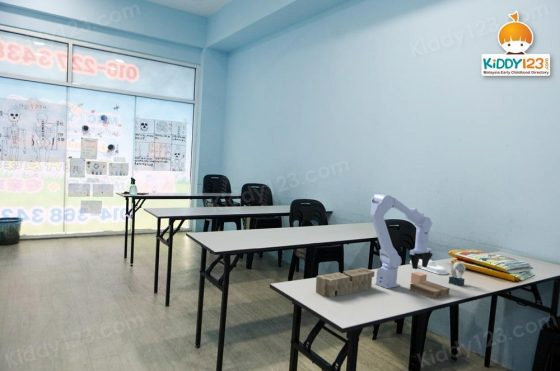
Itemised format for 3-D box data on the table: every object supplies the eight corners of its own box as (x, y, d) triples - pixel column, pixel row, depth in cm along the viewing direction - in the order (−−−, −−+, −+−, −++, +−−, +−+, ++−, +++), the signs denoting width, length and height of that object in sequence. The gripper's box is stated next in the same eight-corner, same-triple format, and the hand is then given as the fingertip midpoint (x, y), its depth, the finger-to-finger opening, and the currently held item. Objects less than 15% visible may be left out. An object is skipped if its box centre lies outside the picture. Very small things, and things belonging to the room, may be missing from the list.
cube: (419, 285, 185) (420, 275, 185) (410, 282, 189) (411, 272, 189) (425, 284, 188) (426, 274, 188) (417, 281, 192) (417, 271, 192)
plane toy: (440, 276, 204) (441, 265, 204) (409, 266, 220) (409, 256, 220) (451, 274, 210) (452, 263, 209) (420, 264, 226) (421, 255, 226)
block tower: (327, 300, 161) (374, 288, 178) (328, 281, 161) (375, 270, 177) (315, 294, 168) (361, 283, 184) (315, 275, 167) (362, 266, 184)
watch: (466, 284, 191) (468, 262, 191) (457, 286, 187) (459, 264, 186) (455, 281, 196) (457, 260, 195) (446, 283, 191) (448, 261, 191)
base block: (432, 298, 167) (433, 292, 167) (409, 290, 177) (410, 283, 177) (448, 294, 174) (449, 288, 174) (425, 286, 184) (426, 280, 184)
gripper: (419, 243, 180) (417, 271, 181) (438, 241, 188) (435, 268, 189) (407, 240, 186) (404, 267, 187) (425, 238, 194) (423, 264, 195)
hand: (419, 267), depth 188 cm, fingers open, 7 cm apart
